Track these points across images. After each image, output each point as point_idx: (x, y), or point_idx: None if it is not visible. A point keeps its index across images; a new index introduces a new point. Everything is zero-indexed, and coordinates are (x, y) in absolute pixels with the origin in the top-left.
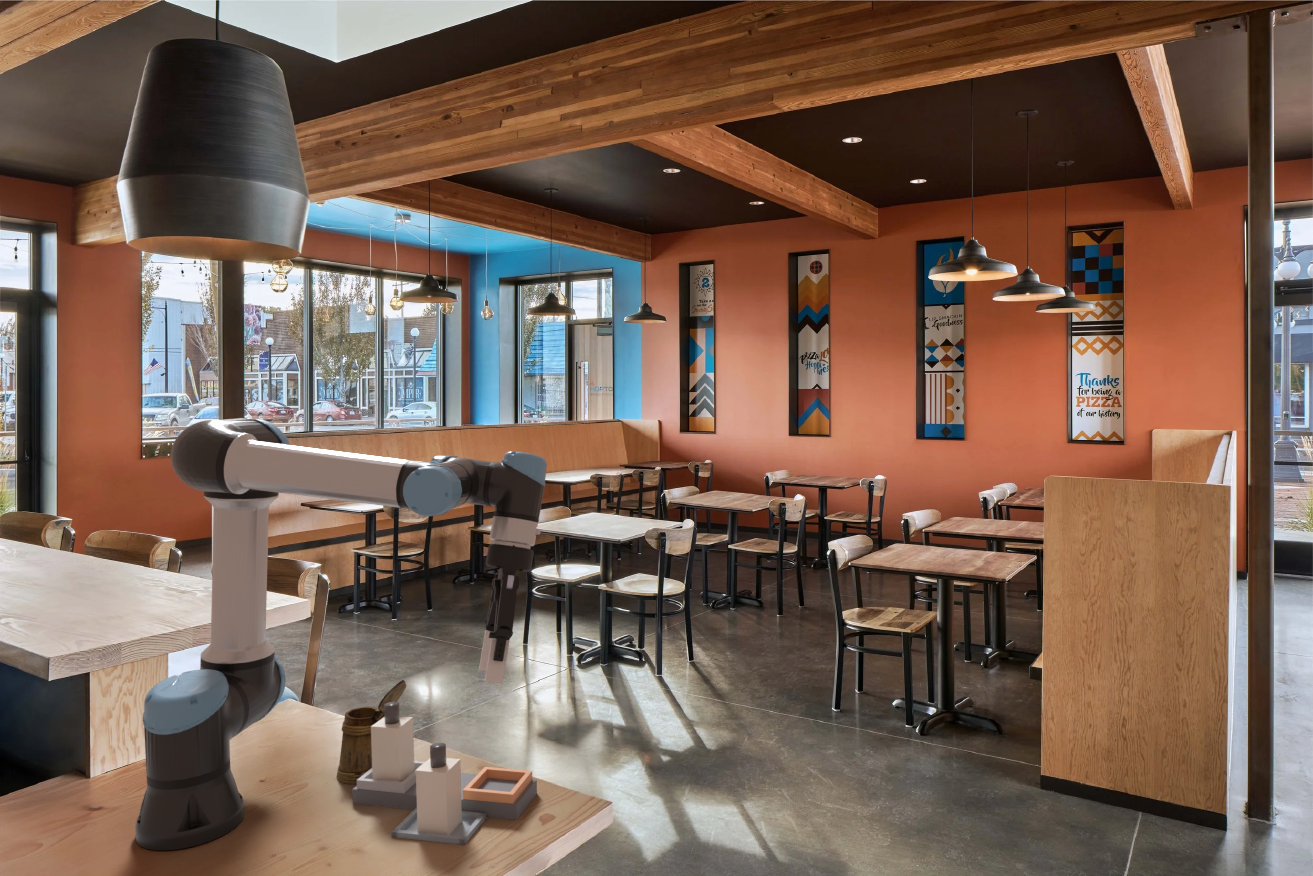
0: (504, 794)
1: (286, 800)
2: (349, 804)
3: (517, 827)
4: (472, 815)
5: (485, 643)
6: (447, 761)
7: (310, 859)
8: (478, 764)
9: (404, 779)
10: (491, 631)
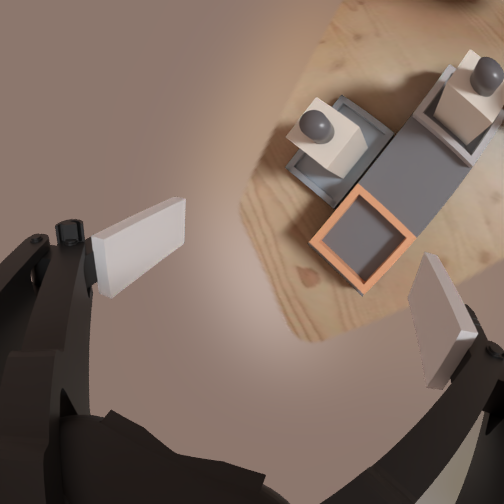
0: (317, 232)
1: (480, 24)
2: None
3: (305, 238)
4: (339, 191)
5: (443, 305)
6: (327, 147)
7: (339, 27)
8: (495, 256)
9: (444, 123)
10: (462, 357)
